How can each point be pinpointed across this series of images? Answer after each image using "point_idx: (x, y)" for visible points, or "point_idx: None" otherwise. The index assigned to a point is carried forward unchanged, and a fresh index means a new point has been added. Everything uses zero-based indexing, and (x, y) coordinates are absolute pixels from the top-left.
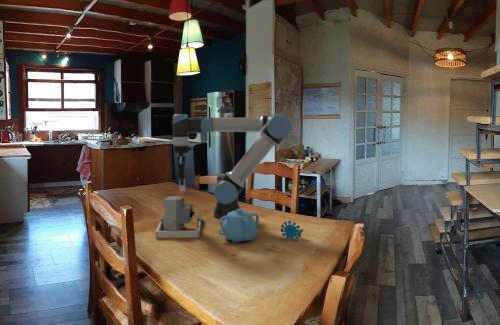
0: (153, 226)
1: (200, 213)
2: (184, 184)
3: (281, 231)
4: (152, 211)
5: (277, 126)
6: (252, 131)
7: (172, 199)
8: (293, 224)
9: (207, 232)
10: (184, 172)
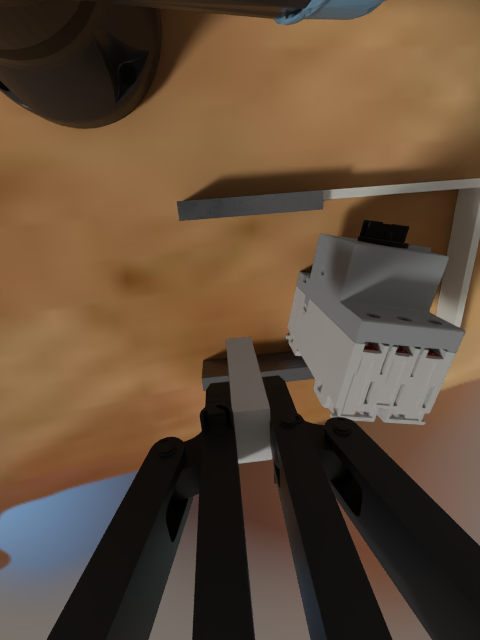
0: (293, 386)
1: (210, 202)
2: (259, 371)
3: None
4: (70, 440)
5: None
6: None
7: (436, 376)
8: None
9: (406, 146)
10: (208, 484)
